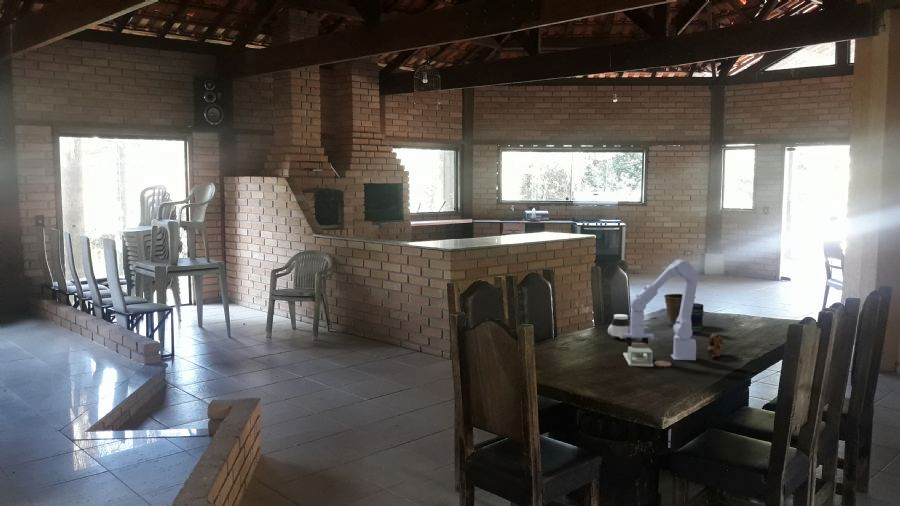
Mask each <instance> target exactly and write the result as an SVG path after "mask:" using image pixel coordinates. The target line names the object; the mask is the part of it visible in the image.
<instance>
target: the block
mask: <svg viewBox="0 0 900 506" xmlns="http://www.w3.org/2000/svg"><path fill="white" fill-rule="evenodd" d="M632 357H634V358H643V356H642V353H632Z"/></svg>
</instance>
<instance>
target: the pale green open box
mask: <svg viewBox="0 0 900 506" xmlns="http://www.w3.org/2000/svg"><path fill="white" fill-rule="evenodd" d="M627 347H628V346H627ZM627 353H628V359H629V361H630V363H632V353H646V354H647V359H648V360H649V362H650V363H651V364H652V363H653V350H652V349H651V348H650V347H649V346H647V345H646V343H641V342H632V347H628V348H627Z"/></svg>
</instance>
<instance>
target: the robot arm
mask: <svg viewBox="0 0 900 506" xmlns="http://www.w3.org/2000/svg"><path fill="white" fill-rule="evenodd" d="M679 276H680V277H681V278H682V279H683V281H684V287H683V290H682V291H683V292H682V294H683V296H682V302H681V307H680V313H679V316H678V318H677V320H676V323H675V324H674V326H672V331H673V333H674V335H673V345H672V346H673V350H672V352H673V353H672V354H670V356H671V358H672V359H673V360H674V361H675V360H676V361H677V360H679V361H680V360H681V361H696V360H697V341H696V339H695V338H692V336H693V335H692V329H691V325H692V323H691V314H692V309H693V303H695V299H696V291H697V287H698V280H699V279H698V276H697V273H696V272H695V267H694V266H693V265H692V264H691V263H690V262H689V261H687V260H684V259H683V258H676V259H675V260H673V262H672V263H670V264H668V266H667V267H666V268H665V270H664V271H663V272H662V273H661V274H659V276H658V277H657V278H656V279H655V281H653V283H652V284H647V285H644V286H643V287H642V288H643V289H641V291H640V292H639V293H638V294H636V295H635V297H633V298H631V300H630V302H629V307H630V310H631V311H630V333H620V338H625V341H626V342H625V343H626V344H627V347H632V343H633V341H632V340H633V339H641V342H640V343H646V346H648V343H649V339H650V340H654V338H655V336H654V333H645V331H644V329H645V328H644V327H645V325H644V324H645V310H646V308H647V305H648V304H649V303H650V302H651V301H652V300H653V299H654V298H655V297H656V296H657V295H658V291H659V289H660V288H662V286H663V285H665V283H667V282H668V281H669V280H670V279H671V278H675V277H679ZM694 298H695V299H694ZM642 355H643V353H642Z"/></svg>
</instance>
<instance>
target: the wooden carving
mask: <svg viewBox="0 0 900 506" xmlns="http://www.w3.org/2000/svg"><path fill="white" fill-rule="evenodd" d="M708 343H709V346H707V354H708V358H715V357H720V356H721V355H722V353H723V351H724V347H723V345H724V343H725V342H724V341H723V338H722V336H721V335H720V334H719V333H718V334H716V333H715V334H711V335H710V337H708Z"/></svg>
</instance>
